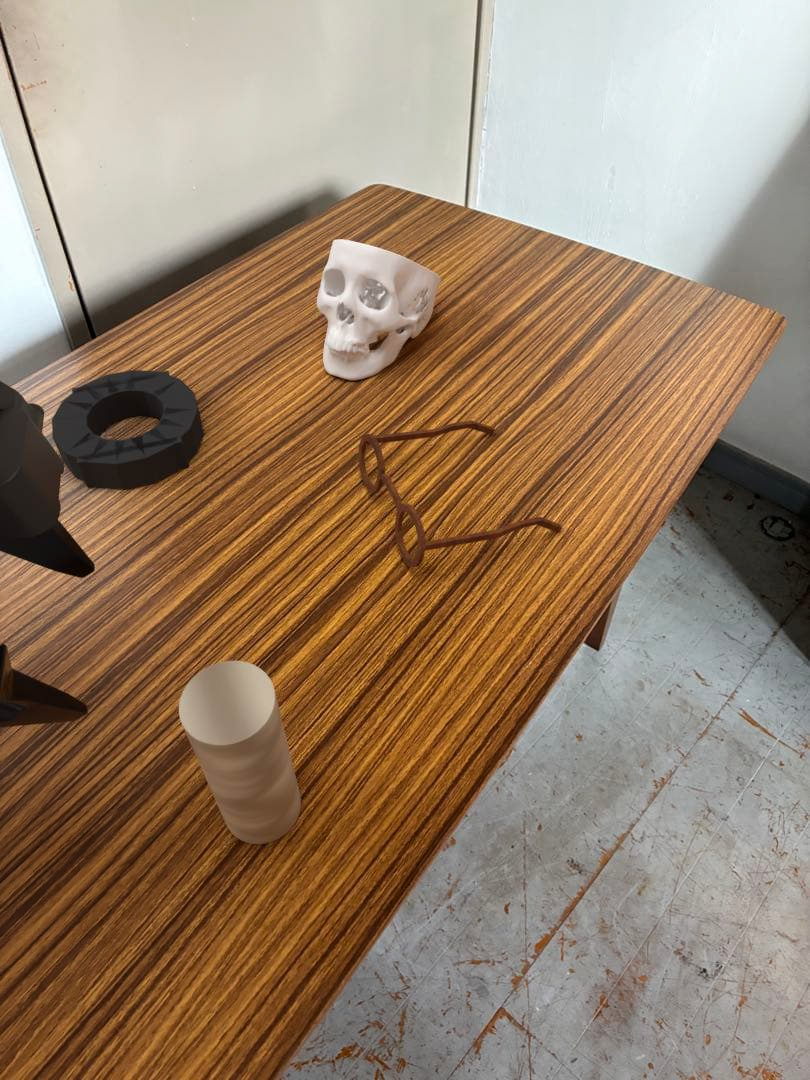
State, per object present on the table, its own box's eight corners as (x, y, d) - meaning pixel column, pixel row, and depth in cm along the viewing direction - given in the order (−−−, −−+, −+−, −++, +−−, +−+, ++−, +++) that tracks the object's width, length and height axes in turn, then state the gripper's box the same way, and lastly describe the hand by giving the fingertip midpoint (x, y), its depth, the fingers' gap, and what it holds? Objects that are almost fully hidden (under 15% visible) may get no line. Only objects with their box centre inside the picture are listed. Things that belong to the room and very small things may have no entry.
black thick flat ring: (212, 471, 70) (206, 445, 68) (65, 502, 68) (53, 476, 65) (193, 385, 77) (186, 359, 75) (61, 410, 75) (50, 384, 73)
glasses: (355, 469, 70) (352, 425, 66) (492, 431, 73) (497, 387, 69) (413, 582, 62) (413, 539, 58) (564, 533, 65) (574, 490, 61)
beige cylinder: (243, 859, 48) (201, 762, 39) (211, 794, 51) (163, 688, 41) (314, 817, 50) (291, 714, 40) (279, 756, 53) (250, 645, 43)
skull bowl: (278, 362, 77) (304, 227, 73) (347, 359, 90) (372, 244, 86) (374, 394, 74) (407, 255, 70) (432, 387, 86) (463, 269, 82)
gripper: (-142, 572, 24) (212, 733, 35) (-49, 247, 36) (194, 446, 47) (-361, 724, 27) (29, 829, 38) (-208, 379, 39) (56, 536, 50)
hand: (86, 638), depth 44 cm, fingers open, 9 cm apart
